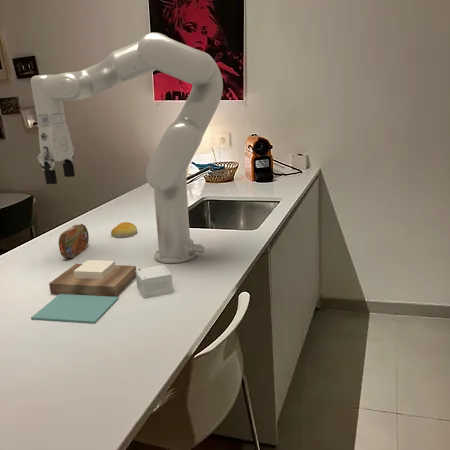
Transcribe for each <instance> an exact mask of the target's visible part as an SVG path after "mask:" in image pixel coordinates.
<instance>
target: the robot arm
mask: <svg viewBox="0 0 450 450" xmlns="http://www.w3.org/2000/svg"><path fill="white" fill-rule="evenodd" d="M155 71H158V72H161V73H164V74H165V75H168V76H170V77H173V78H175V79H178V80H180V81H182V82H185V83H188V84H190V85H191V86H192V87H191V90H190V92H189V95H188V96H187V98H186V99H185V102H184V105H183V106H182V108H181V110H180V112H179V114H178V116H177V118H176V119H175V120H174V121H173V122H172V123H171V124H170V125H169V126H168V127H167V128H166V129H165V131H164V133H163V135H162V137H161V139H160V141H159V143H158V145H157V147H156V149H155V150H154V152H153V155H152V156H151V159H150V160H149V162H148V164H147V165H146V170H145V177H146V182H147V183H148V184H149V185H150V188H152V189H153V193H154V195H153V196H154V210H155V221H156V231H157V241H158V250H156V251H155V252H154V254H153V256H154V260H155V261H157V262H159V263H163V264H178V263H185V262H188V261H190V260H193V259H194V258H195V257H196V256H197V253H199V254H204V253H205V246H203V244H201V243H198V244H197V243H196V244H195V243H194V239H193V238H191V235H190V233H191V232H190V221H189V207H188V205H189V203H188V185H187V184H188V183H187V182H188V181H187V180H188V178H187V177H188V176H187V175H188V173H187V169H188V167H189V165H190V164H191V161H192V160H193V158H194V156H195V154H196V152H197V150H198V148H199V147H200V145H201V143H202V141H203V137H204V135H205V133H206V131H207V129H208V127H209V125H210V123H211V121H212V120H213V117H214V115H215V113H216V110H217V109H218V107H219V106H220V105H219V104H220V102H221V99H222V96H223V90H224V81H223V76H222V73H221V70H220V68H219V66H218V64H217V63H216V61H215V60H214V59H213V57H212V56H211V55H210V54H209V53H207V52H205V51H203V50H199V49H196V48H194V47H191V46H189V45H186V44H184V43H182V42H179V41H177V40H175V39H173V38H170V37H168V36H167V35H166V34H163V33H161V32H148V33H147V34H145V35H143V36H142V38H141V39H139V40H138V41H136V42H133V43H131V44H129V45H126V46H123V47H122V48H119V49H117V50H113V51H112V52H111V53H109V54H108V55H107V57H106V58H105V59H103V60H102V61H100V62H98V63H97V64H94V65H92V66H88V67H86V68H84V69H81V70H79V71H68V72H61V73H58V74H38V75H34V76H32V77H31V79H30V85H31V90H32V91H31V92H32V99H33V103H34V109H35V115H36V121H37V127H38V141H39V151H40V152H39V154H38V155H37V160H38V162H39V165H40V166H41V169H42V171H43V173H44V178H45V183H46V185H56V184H58V179H57V174H56V173H57V172H56V169H54V167H55V164H56V162H57V163H60V162H63V163H62V170H63V174H64V177H65V178H68V177H69V178H73V177H75V176H76V174H75V167H74V166H75V165H74V162H75V160H74V157H75V153H74V151H75V147H74V146H73V143H72V137H71V134H70V131H69V126H68V125H67V123H66V116H65V110H64V109H65V108H64V103H63V101H66V102H67V101H68V102H72V101H73V102H74V101H79V100H84V99H87V98H89V97H92V96H94V95H97V94H99V93H102V92H104V91H108V90H109V89H112V88H113V87H116V86H121V85H124V84H126V83H127V82H131V81H133V80H135V79H137V78H140V77H142V76H145V75H147V74H150V73H153V72H155Z"/></svg>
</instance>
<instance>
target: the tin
mask: <svg viewBox="0 0 450 450" xmlns="http://www.w3.org/2000/svg"><path fill="white" fill-rule="evenodd" d="M89 238H90V236H89V230H88V229H87V227H86V225H85V224H82V223H80V224H74V225H72V226H71V227H69V228H67V229H66V230H65V231H63V232H62V233H61V234H60V235H59V238H58V248H59V252H60V255H61V257H63V258H65V259H74V258H76V257H78V256H79V255H80V254H81V253H82V252H84V251H85V250H86V249H87V247H88V245H89V242H90V241H89V240H90V239H89Z"/></svg>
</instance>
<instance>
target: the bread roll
mask: <svg viewBox="0 0 450 450" xmlns="http://www.w3.org/2000/svg"><path fill="white" fill-rule="evenodd" d="M137 232H138V228H137V226H136V225H135V224H134V223H132V222H128V221H125V222H120V223H119V224H117V225H116V226H114V227H113V229H111V232H110V234H111V236H112V237H114V238H117V239H124V238H130V237H133V236H134V235H135V234H137Z"/></svg>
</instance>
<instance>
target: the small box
mask: <svg viewBox="0 0 450 450" xmlns="http://www.w3.org/2000/svg"><path fill="white" fill-rule="evenodd" d="M135 281H136V288H137V290H138V291H139V294H141V296H142V298H143V299H145V298H146V299H147V298H151V297H156V296H160V295H166V294H170V293H171V294H173V292H174V291H173V290H174V289H173V278H172V273H171V271H170V270H169V269H168V268H167V266H165V265H164V264H159V265H154V266H153V265H152V266H150V267H149V266H148V267H143V268H136V277H135Z"/></svg>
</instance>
